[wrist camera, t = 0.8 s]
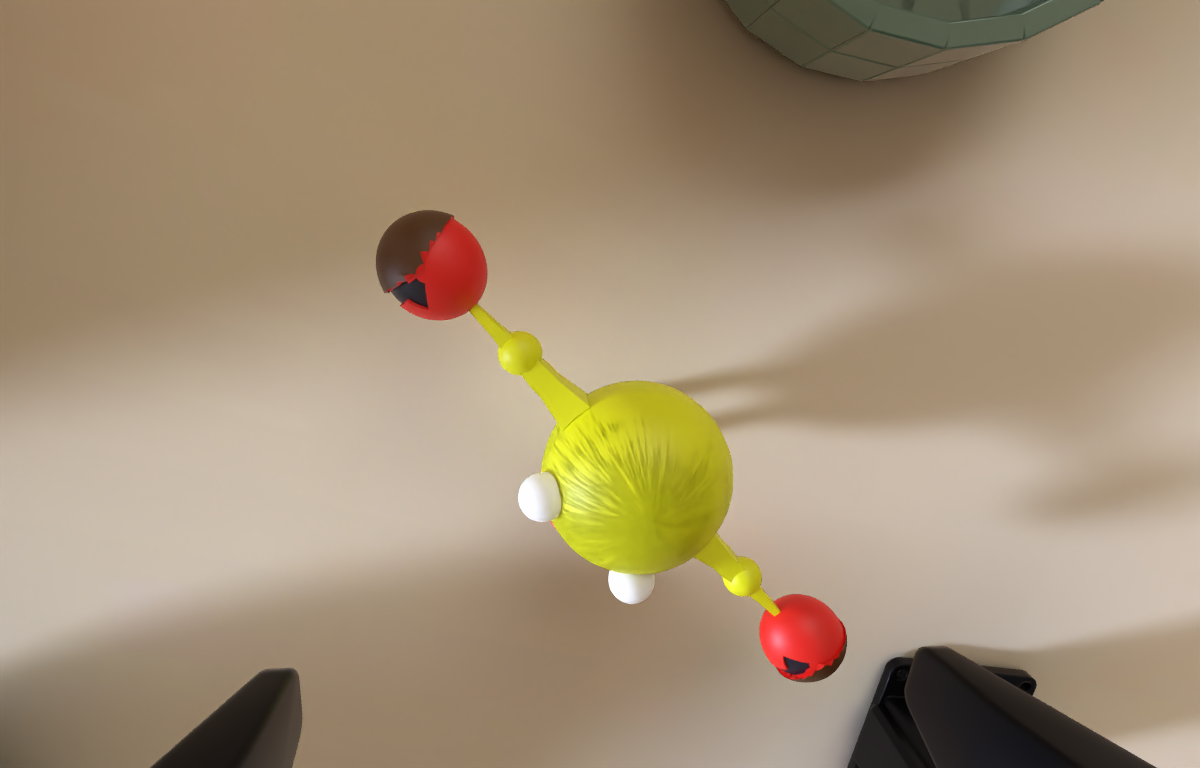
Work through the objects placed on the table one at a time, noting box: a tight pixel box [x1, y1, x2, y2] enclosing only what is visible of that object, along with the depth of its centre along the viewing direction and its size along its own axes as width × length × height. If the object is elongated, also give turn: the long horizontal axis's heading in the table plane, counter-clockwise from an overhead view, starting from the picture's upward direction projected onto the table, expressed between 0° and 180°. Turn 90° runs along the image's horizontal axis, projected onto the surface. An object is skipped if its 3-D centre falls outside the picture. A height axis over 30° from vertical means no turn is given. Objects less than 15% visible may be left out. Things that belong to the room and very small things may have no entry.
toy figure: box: [376, 210, 847, 682], centre depth 18 cm, size 18×6×7 cm, turn 42°
